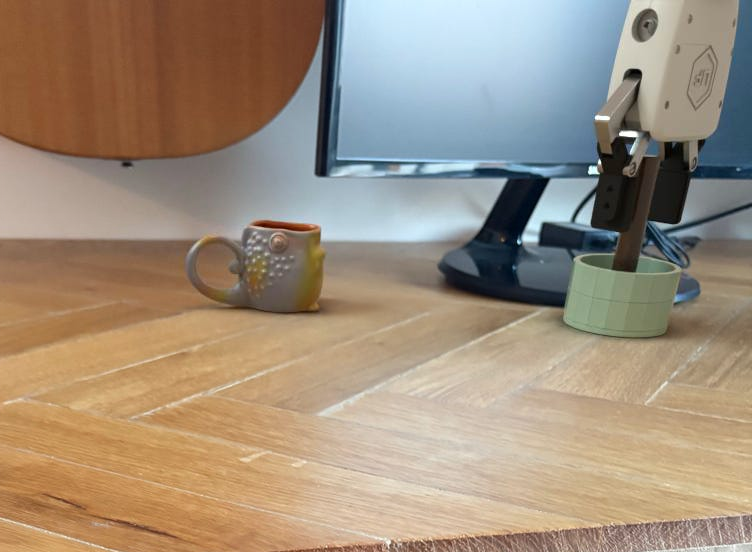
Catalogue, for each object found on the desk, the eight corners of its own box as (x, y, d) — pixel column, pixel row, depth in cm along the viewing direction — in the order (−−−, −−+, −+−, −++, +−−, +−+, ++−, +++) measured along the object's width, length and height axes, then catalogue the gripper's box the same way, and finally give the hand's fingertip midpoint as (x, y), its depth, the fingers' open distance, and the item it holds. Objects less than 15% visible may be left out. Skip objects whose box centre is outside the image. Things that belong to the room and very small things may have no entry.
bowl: (633, 311, 90) (646, 253, 87) (687, 337, 83) (703, 274, 80) (545, 312, 88) (556, 253, 85) (592, 338, 81) (606, 274, 78)
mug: (308, 295, 90) (313, 216, 87) (331, 313, 84) (337, 230, 81) (177, 298, 87) (177, 216, 84) (192, 317, 82) (192, 230, 78)
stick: (621, 313, 87) (655, 153, 80) (640, 322, 84) (677, 158, 77) (587, 314, 86) (619, 153, 79) (605, 323, 83) (640, 157, 77)
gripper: (679, -46, 65) (619, 243, 74) (794, -27, 75) (729, 224, 84) (580, -44, 69) (535, 227, 78) (700, -27, 79) (648, 212, 89)
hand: (635, 224), depth 81 cm, fingers open, 7 cm apart
